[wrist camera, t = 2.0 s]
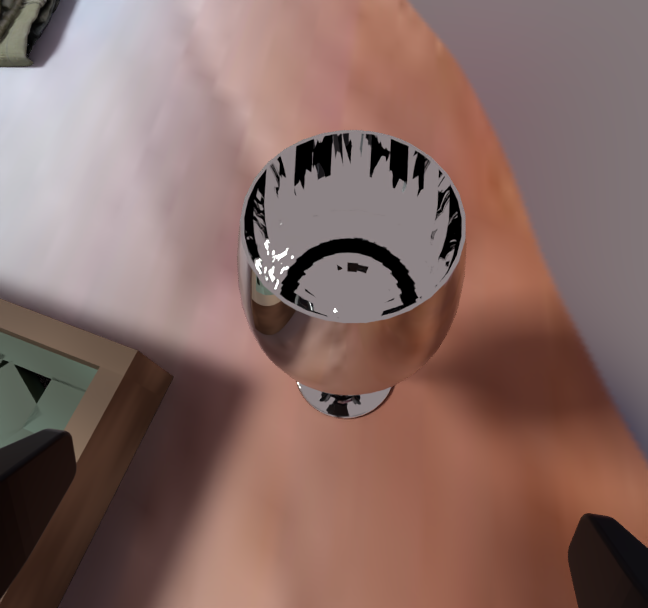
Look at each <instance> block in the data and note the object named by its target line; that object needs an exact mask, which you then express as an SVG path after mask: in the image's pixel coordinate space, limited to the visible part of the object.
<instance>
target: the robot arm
mask: <svg viewBox="0 0 648 608" xmlns="http://www.w3.org/2000/svg"><path fill="white" fill-rule="evenodd" d="M76 469H77V464H76V458H75V451H74V445H73V439H72V436H71V434H70V433H69V432H67V431H64V430H58V429H51V428H47V429H43V430H41V431H38V432H36V433H34V434H32V435H29V436H27V437H25V438H23V439H20V440H18V441H16V442H13V443H11V444H9V445H7V446H4V447H2V448H0V600H1V598H2V597H3V595H4V594H5V592H6V591H7V589H8V588H9V587H10V585H11V584H12V582H13V581H14V579H15V578H16V577H17V575H18V574H19V572H20V571H21V569H22V568H23V566H24V565H25V563H26V562H27V560H28V558H29V557H30V555H31V553H32V552H33V550H34V548H35V547H36V545H37V543H38V542H39V540H40V538H41V536H42V534H43V533H44V531H45V529H46V527H47V526H48V524H49V522H50V520H51V519H52V517H53V515H54V513H55V512H56V510H57V508H58V506H59V505H60V503H61V501H62V499H63V498H64V496H65V494H66V492H67V491H68V489H69V487H70V485H71V483H72V482H73V480H74V477H75V475H76ZM568 562H569V567H570V572H571V576H572V581H573V585H574V590H575V594H576V599H577V603H578V608H648V548H647V547H646V546H645V545H643V544H642V543H641V542H640V541H639V540H638V539H637V538H635V537H634V536H633V535H632V534H631V533H630V532H629V531H627V530H626V529H625V528H624V527H623V526H622V525H621V524H619V523H618V522H617V521H616V520H615V519H613V518H611V517H608V516H603V515H597V514H591V513H587V514H584V515H583V516H582V517H581V519H580V521H579V524H578V526H577V528H576V531H575V533H574V536H573V538H572V541H571V543H570V546H569V550H568Z"/></svg>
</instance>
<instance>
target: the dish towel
mask: <svg viewBox="0 0 648 608" xmlns="http://www.w3.org/2000/svg"><path fill="white" fill-rule="evenodd" d="M59 1H60V0H0V67H17V66H18V67H19V66H30V65H33V62H32V61H31V60H30V59H28V57H29V53H30V52H31V50H32V46H33V45H34V44H35V42H36V40H37V39H38V38H39V37H40V36H41V32H42V31H43V30H44V28H45V27H46V26H47V25H48V23H49V21H50V17H51V14H52V13H54V11H55V10H56V8H57V6H58V4H59ZM27 44H29V45H28V46H27ZM26 54H28V55H26Z"/></svg>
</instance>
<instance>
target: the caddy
mask: <svg viewBox="0 0 648 608" xmlns="http://www.w3.org/2000/svg"><path fill="white" fill-rule="evenodd" d="M36 373H37V374H40V375H42V376H45V377H47V378H50V379H51V381H50V383H49V384H48V386H47V388H46V389H44V387H43V385H42V383H41V382H40V380H39V378H38V377H37V375H36ZM172 379H173V376H172V375H170V374H169V373H168V372H166V371H165V370H164V369H162V368H161V367H160V366H158V365H157V364H155V363H154V362H153V361H151V360H150V359H149V358H147V357H146V356H144V355H143V354H142V353H140V352H139V351H138V350H135V349H132V348H130V347H127V346H124V345H122V344H119V343H116V342H114V341H111V340H108V339H106V338H103V337H101V336H98V335H95V334H93V333H90V332H87V331H85V330H82V329H79V328H77V327H74V326H71V325H69V324H66V323H64V322H61V321H58V320H56V319H53V318H50V317H48V316H45V315H42V314H40V313H37V312H34V311H32V310H29V309H27V308H24V307H21V306H19V305H16V304H13V303H11V302H8V301H5V300H3V299H0V448H2V447H4V446H7V445H9V444H11V443H13V442H16V441H18V440H20V439H23V438H25V437H27V436H29V435H32V434H34V433H36V432H38V431H41V430H43V429H47V428H51V429H58V430H64V431H67V432H69V433H70V434H71V436H72V439H73V445H74V451H75V458H76V464H77V469H76V475H75V477H74V480H73V482H72V483H71V485H70V487H69V489H68V491H67V492H66V494H65V496H64V498H63V499H62V501H61V503H60V505H59V506H58V508H57V510H56V512H55V513H54V515H53V517H52V519H51V520H50V522H49V524H48V526H47V527H46V529H45V531H44V533H43V534H42V536H41V538H40V540H39V542H38V543H37V545H36V547H35V548H34V550H33V552H32V553H31V555H30V557H29V558H28V560H27V562H26V563H25V565H24V566H23V568H22V569H21V571H20V572H19V574H18V575H17V577H16V578H15V579H14V581H13V582H12V584H11V585H10V587H9V588H8V589H7V591H6V592H5V594H4V595H3V597H2V598H1V600H0V608H57V607H58V605H59V603H60V601H61V599H62V597H63V595H64V593H65V591H66V589H67V588H68V586H69V584H70V582H71V580H72V578H73V576H74V574H75V572H76V570H77V568H78V566H79V564H80V562H81V560H82V558H83V556H84V554H85V552H86V550H87V548H88V546H89V544H90V542H91V540H92V538H93V536H94V534H95V532H96V530H97V528H98V526H99V524H100V522H101V520H102V518H103V516H104V514H105V512H106V510H107V508H108V506H109V504H110V502H111V500H112V498H113V496H114V494H115V492H116V490H117V488H118V486H119V484H120V482H121V480H122V478H123V476H124V474H125V472H126V470H127V468H128V466H129V464H130V462H131V460H132V458H133V456H134V454H135V452H136V450H137V448H138V446H139V444H140V442H141V440H142V438H143V436H144V434H145V432H146V430H147V428H148V426H149V424H150V422H151V421H152V419H153V417H154V415H155V413H156V411H157V409H158V407H159V405H160V403H161V401H162V399H163V397H164V395H165V393H166V391H167V389H168V387H169V385H170V383H171V381H172Z"/></svg>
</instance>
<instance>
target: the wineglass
mask: <svg viewBox="0 0 648 608" xmlns="http://www.w3.org/2000/svg"><path fill="white" fill-rule="evenodd" d="M466 248H467V243H466V231H465V212H464V209H463V205H462V202H461V198H460V195H459V192H458V191H457V189H456V187H455V186H454V184H453V182H452V181H451V179H450V177H449V176H448V174H447V173H446V172H445V171H444V170H443V169H442V168H441V167H440V166H439V165H438V164H437V163H436V162H435V161H434V160H433V159H432V157H430V156H429V155H427V154H426V153H424V152H423V151H421V150H419V149H418V148H416V147H415V146H413V145H412V144H410V143H408V142H406V141H403V140H401V139H399V138H396V137H393V136H390V135H386V134H382V133H377V132H371V131H362V130H341V131H335V132H328V133H322V134H319V135H316V136H313V137H310V138H307V139H304V140H301V141H300V142H298V143H296V144H294V145H292V146H290V147H288V148H286V149H284V150H283V151H282V152H281V153H279V154H278V155H277V156H275V157H274V158H273V159H272V160H270V161H269V162H268V163H267V164H266V165H265V167H264V168H263V169H262V170H261V171H260V173H259V174H258V175H257V176H256V177H255V179H254V181H253V183H252V185H251V187H250V189H249V191H248V193H247V194H246V196H245V199H244V204H243V209H242V214H241V218H240V226H239V235H238V250H237V270H238V287H239V292H240V298H241V304H242V308H243V311H244V314H245V317H246V319H247V322H248V325H249V328H250V330H251V332H252V334H253V336H254V338H255V340H256V341H257V343H258V344H259V346H260V348H261V349H262V351H263V352H264V353H265V354H266V356H267V357H268V358H269V359H270V360H271V361H272V362H273V363H274V364H275V365H276V366H277V367H278V368H280V369H281V370H282V371H283V372H284V373H286V374H287V375H288V376H290V377H291V378H292V379H294V380H296V383H297V386H298V389H299V391H300V393H301V395H302V396H303V398H304V399H305V400H306V402H307V403H308V404H309V405H310V406H312V407H313V408H314V409H315V410H317V411H319V412H321V413H323V414H325V415H327V416H331V417H335V418H339V419H351V418H356V417H360V416H363V415H365V414H367V413H369V412H371V411H373V410H374V409H376V408H377V407H378V406H379V405H380V404H381V403H382V402H383V401H384V400H385V398H386V397H387V396H388V394H389V392H390V390H391V387H392V386H394V385H396V384H398V383H400V382H401V381H403V380H405V379H406V378H408V377H410V376H411V375H413V374H414V373H416V372H417V371H418V370H419V369H420V368H421V367H423V366H424V365H425V364H426V363H427V362H428V361H429V360H430V358H431V357H432V356H433V355H434V354H435V353H436V351H437V350H438V349H439V347H440V345H441V344H442V342H443V340H444V339H445V337H446V335H447V333H448V331H449V329H450V327H451V325H452V322H453V320H454V318H455V316H456V313H457V309H458V306H459V301H460V297H461V292H462V287H463V282H464V277H465V264H466Z"/></svg>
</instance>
